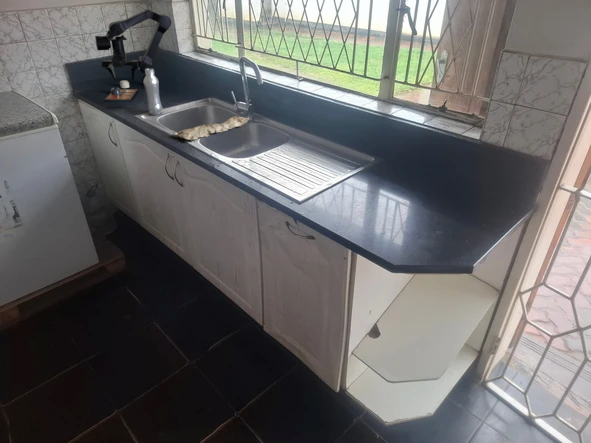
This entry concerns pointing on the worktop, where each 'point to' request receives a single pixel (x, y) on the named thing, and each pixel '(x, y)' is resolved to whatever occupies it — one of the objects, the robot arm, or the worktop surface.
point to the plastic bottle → (152, 92)
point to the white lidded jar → (124, 84)
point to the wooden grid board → (122, 95)
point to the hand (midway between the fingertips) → (124, 80)
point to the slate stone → (115, 91)
